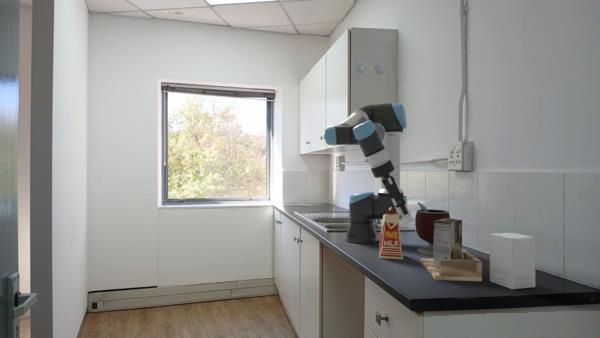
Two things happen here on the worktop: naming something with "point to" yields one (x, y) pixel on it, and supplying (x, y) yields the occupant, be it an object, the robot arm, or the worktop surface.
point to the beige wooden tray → (455, 268)
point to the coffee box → (447, 240)
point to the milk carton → (390, 237)
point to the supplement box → (512, 260)
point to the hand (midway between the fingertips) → (405, 217)
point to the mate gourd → (428, 226)
